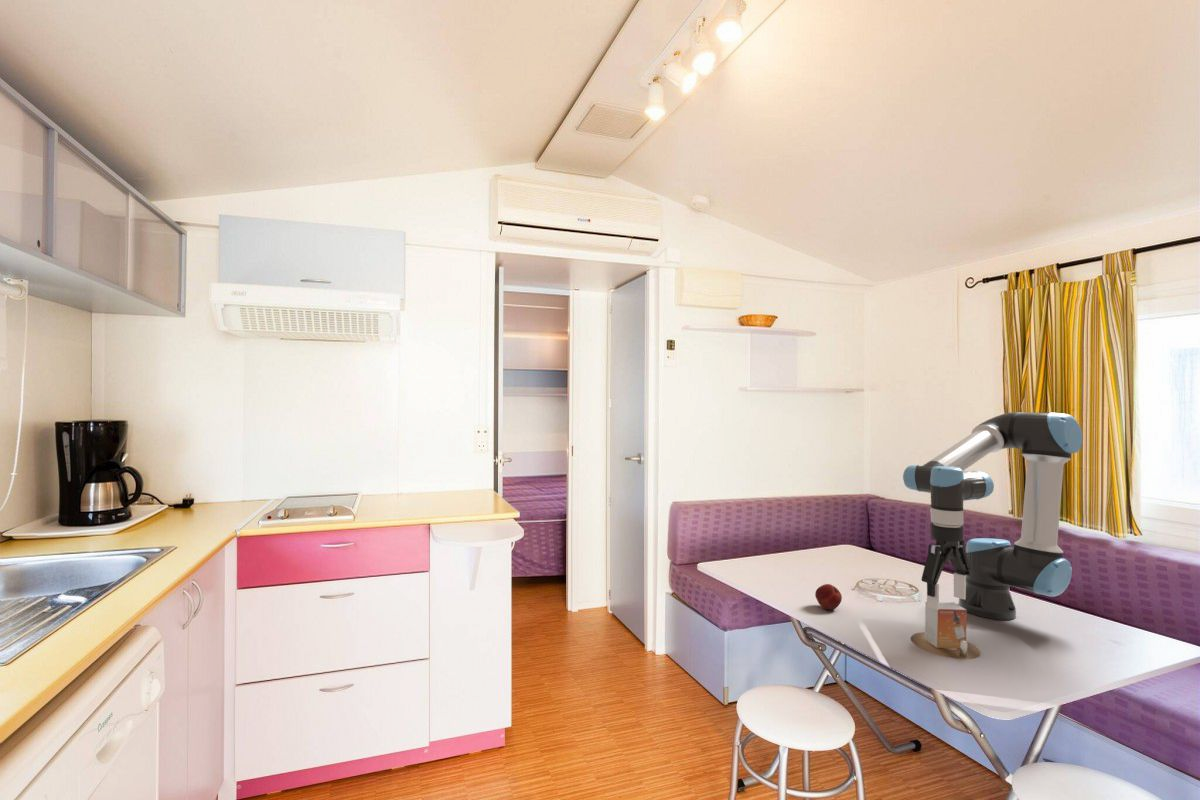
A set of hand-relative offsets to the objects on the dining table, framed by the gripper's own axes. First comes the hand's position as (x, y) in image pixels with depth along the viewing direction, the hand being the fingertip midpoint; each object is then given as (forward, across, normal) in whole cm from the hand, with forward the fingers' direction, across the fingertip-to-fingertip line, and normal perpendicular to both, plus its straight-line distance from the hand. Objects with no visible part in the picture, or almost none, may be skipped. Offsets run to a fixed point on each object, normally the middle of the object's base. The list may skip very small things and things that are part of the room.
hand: (946, 602), depth 148 cm
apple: (+13, +3, -35) cm, 37 cm away
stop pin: (+11, +4, +6) cm, 13 cm away
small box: (+11, +1, 0) cm, 11 cm away
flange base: (+13, +1, 0) cm, 13 cm away
